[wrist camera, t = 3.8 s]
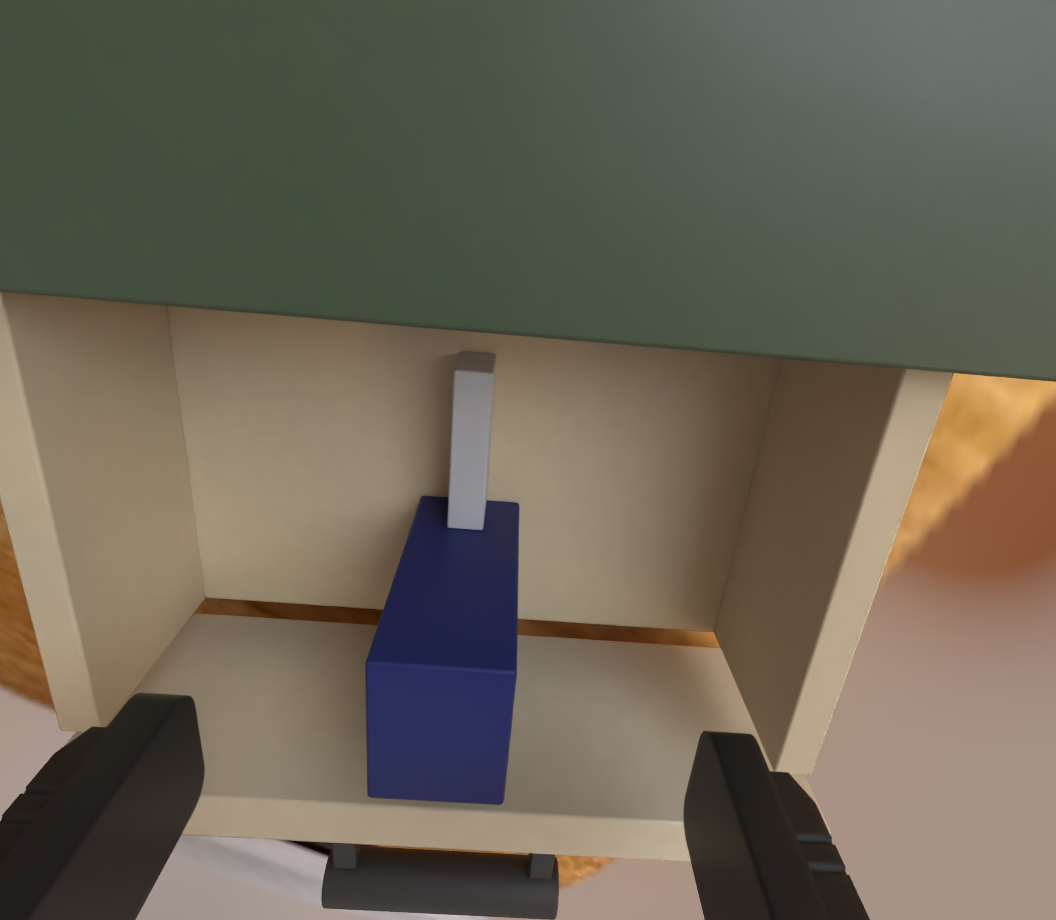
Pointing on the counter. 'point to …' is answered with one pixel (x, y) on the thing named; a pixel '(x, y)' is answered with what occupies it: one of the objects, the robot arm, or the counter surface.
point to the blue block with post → (449, 628)
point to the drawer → (377, 544)
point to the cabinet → (551, 169)
